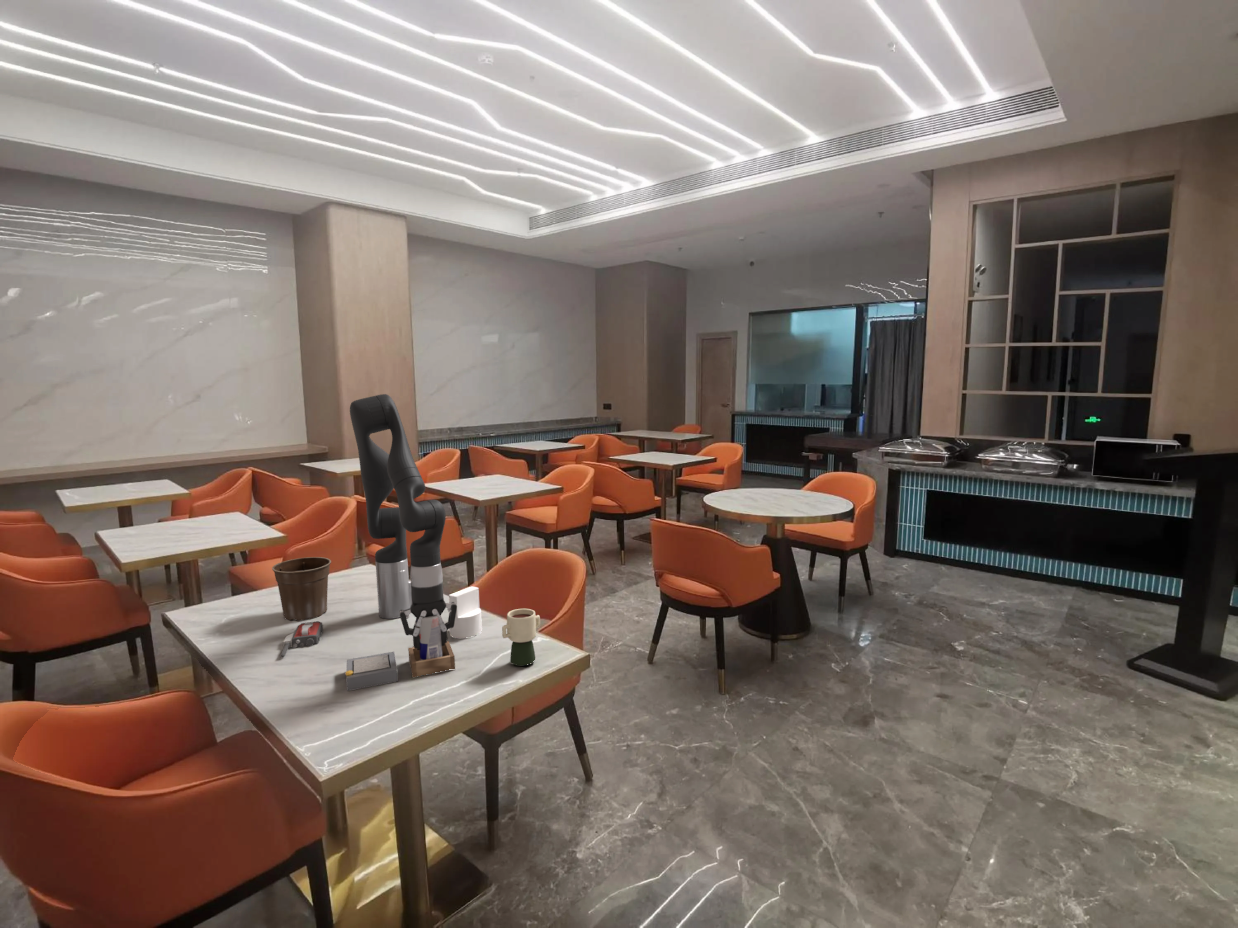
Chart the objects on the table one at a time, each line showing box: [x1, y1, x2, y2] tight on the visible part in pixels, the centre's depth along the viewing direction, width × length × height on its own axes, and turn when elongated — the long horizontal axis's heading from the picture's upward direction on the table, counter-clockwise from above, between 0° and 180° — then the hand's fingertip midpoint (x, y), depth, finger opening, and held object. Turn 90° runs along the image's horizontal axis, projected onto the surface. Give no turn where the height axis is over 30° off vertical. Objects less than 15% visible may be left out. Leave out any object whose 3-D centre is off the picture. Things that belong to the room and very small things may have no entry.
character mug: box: [501, 608, 541, 667], centre depth 154 cm, size 11×7×13 cm, turn 131°
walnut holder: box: [407, 640, 456, 678], centre depth 154 cm, size 10×10×4 cm
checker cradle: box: [345, 651, 399, 692], centre depth 149 cm, size 11×11×4 cm
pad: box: [353, 654, 390, 675], centre depth 149 cm, size 8×8×2 cm
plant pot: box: [271, 556, 332, 622], centre depth 191 cm, size 16×16×16 cm
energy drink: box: [419, 615, 442, 661], centre depth 154 cm, size 5×5×12 cm
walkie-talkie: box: [280, 620, 324, 658], centre depth 170 cm, size 9×4×20 cm
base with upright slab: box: [448, 586, 483, 639], centre depth 175 cm, size 9×9×12 cm
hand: (430, 646), depth 154 cm, fingers closed on energy drink, 5 cm apart
